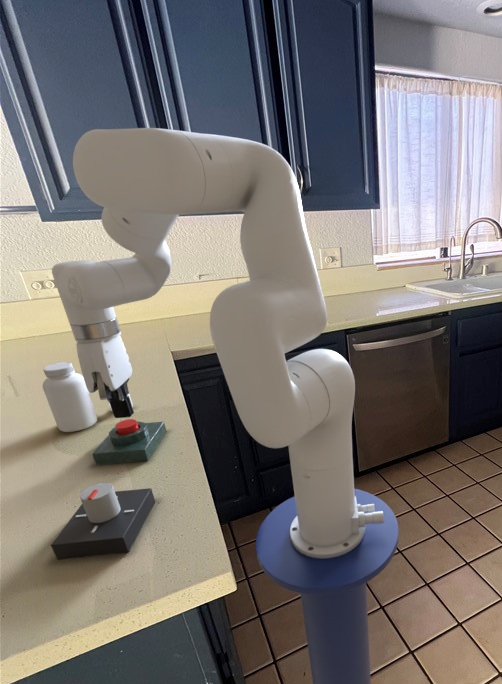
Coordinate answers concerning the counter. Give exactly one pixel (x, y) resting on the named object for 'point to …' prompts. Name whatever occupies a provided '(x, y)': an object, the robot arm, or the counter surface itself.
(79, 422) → the pill bottle
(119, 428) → the button
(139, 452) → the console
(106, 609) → the counter surface
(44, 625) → the counter surface
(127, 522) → the panel
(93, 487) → the hob knob
